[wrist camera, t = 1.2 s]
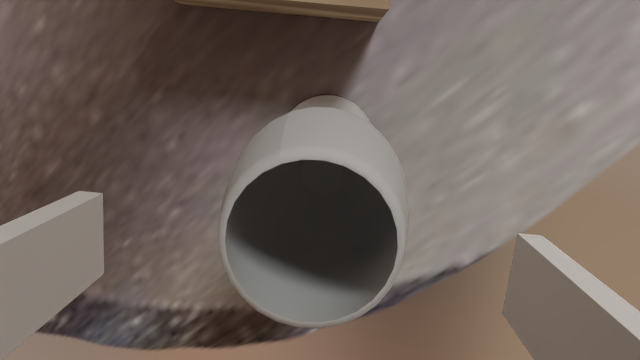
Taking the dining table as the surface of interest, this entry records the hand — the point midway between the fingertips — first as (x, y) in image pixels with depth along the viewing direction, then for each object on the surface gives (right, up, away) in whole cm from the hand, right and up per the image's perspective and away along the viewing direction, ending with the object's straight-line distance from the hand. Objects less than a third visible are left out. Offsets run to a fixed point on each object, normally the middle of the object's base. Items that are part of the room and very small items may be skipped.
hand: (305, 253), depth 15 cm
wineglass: (+1, +5, +21) cm, 21 cm away
